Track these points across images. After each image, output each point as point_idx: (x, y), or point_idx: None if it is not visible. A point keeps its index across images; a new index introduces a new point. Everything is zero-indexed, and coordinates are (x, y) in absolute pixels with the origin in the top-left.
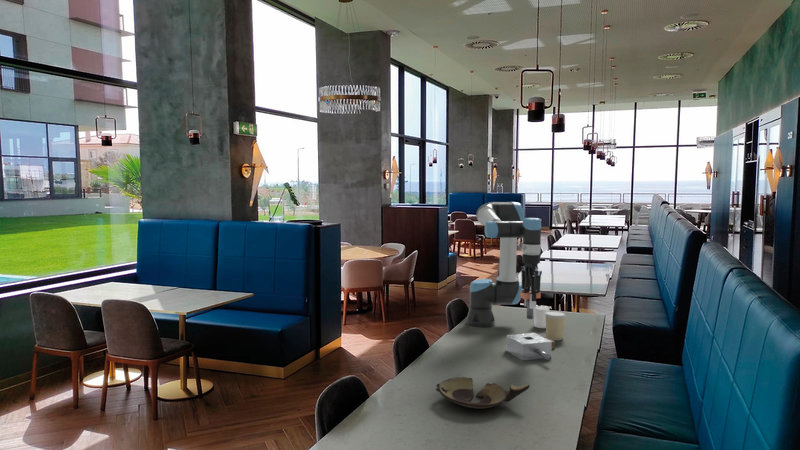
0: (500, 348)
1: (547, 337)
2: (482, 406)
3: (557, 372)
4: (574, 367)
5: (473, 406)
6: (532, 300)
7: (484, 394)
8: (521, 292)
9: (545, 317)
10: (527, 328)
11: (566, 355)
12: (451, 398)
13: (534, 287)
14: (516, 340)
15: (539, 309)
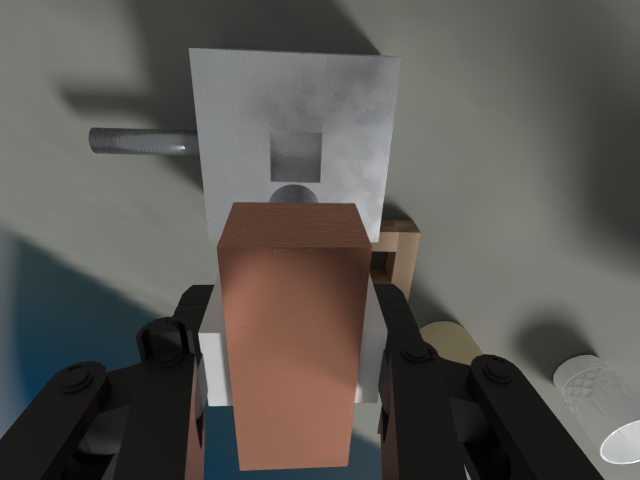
0: (425, 43)
1: (447, 323)
2: None
3: (21, 118)
4: (87, 224)
5: None
6: (206, 289)
7: None
8: (330, 245)
9: (578, 410)
10: (593, 321)
11: None
12: None
13: (7, 468)
14: (275, 55)
15: (623, 424)
